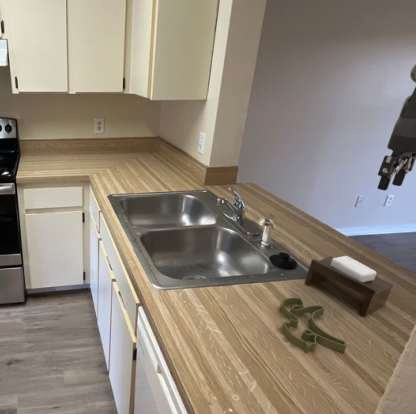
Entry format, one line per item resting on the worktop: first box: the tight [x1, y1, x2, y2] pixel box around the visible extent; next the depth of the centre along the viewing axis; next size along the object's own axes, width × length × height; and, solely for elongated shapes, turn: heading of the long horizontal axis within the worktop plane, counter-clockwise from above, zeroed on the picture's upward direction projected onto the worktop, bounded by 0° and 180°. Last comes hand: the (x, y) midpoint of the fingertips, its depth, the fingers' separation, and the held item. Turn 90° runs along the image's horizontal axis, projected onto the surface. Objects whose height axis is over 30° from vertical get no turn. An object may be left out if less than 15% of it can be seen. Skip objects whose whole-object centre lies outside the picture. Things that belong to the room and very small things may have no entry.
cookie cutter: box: [280, 297, 347, 354], centre depth 82 cm, size 18×12×2 cm, turn 168°
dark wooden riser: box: [304, 255, 394, 318], centre depth 93 cm, size 10×16×8 cm, turn 27°
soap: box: [331, 255, 377, 282], centre depth 91 cm, size 9×6×3 cm, turn 16°
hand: (389, 187), depth 100 cm, fingers open, 8 cm apart
